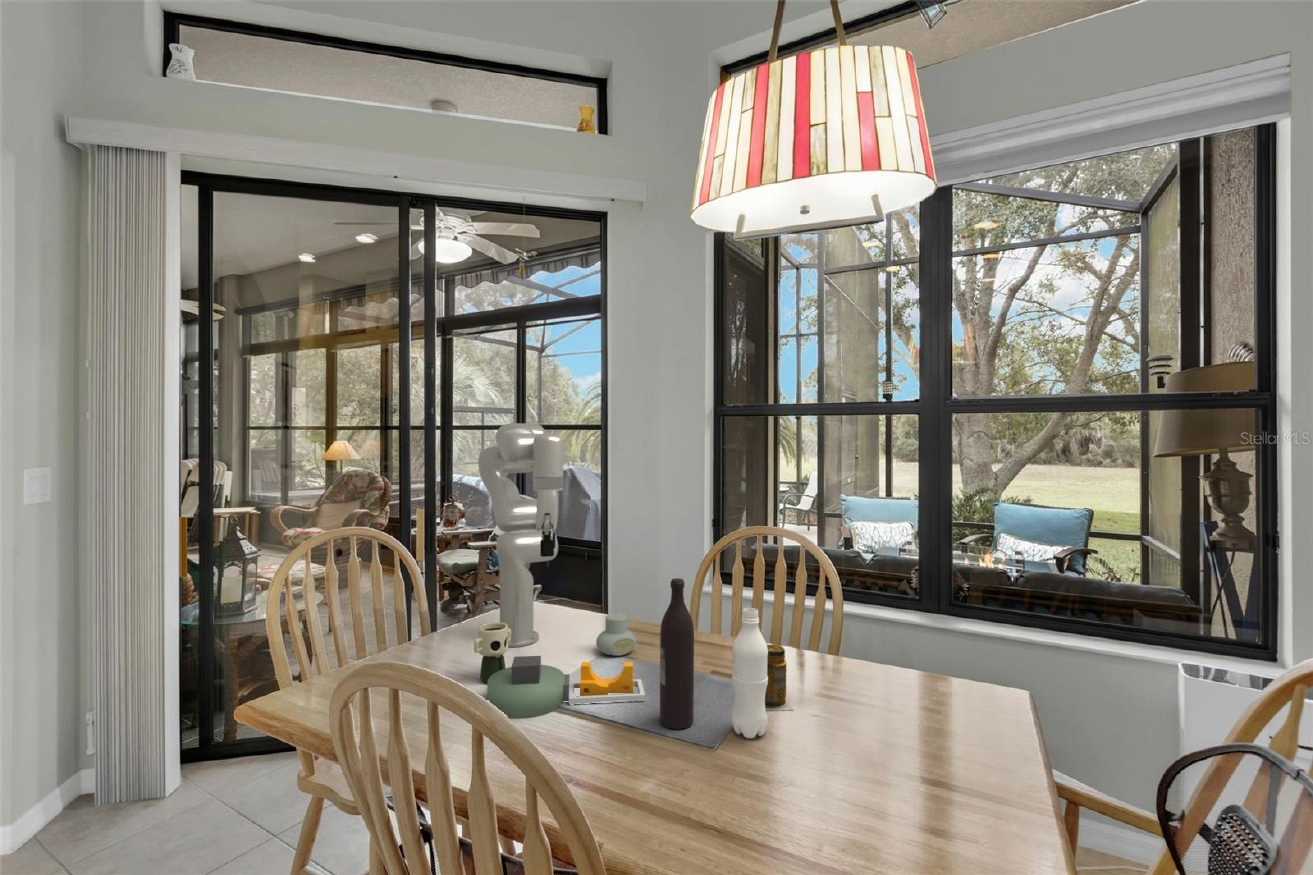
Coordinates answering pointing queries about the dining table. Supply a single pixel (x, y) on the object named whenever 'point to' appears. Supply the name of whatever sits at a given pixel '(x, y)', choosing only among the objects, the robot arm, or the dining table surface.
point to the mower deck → (540, 689)
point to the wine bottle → (677, 662)
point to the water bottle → (749, 677)
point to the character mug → (492, 647)
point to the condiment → (776, 680)
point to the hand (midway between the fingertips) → (548, 552)
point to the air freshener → (616, 636)
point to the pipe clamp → (605, 681)
